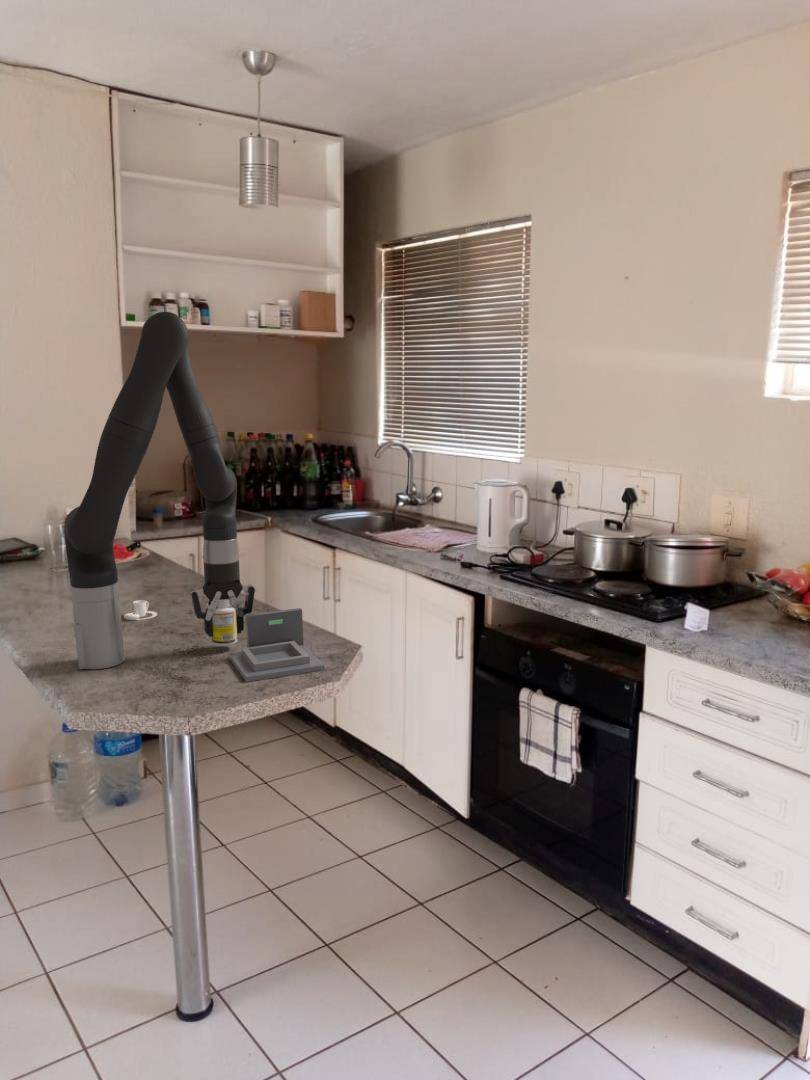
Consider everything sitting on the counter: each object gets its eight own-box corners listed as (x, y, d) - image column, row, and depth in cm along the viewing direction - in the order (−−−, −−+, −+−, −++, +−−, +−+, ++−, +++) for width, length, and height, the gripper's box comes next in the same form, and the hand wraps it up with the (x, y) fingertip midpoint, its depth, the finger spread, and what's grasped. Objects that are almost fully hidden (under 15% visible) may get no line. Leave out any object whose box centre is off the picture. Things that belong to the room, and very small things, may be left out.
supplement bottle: (222, 638, 188) (220, 593, 186) (242, 641, 186) (241, 596, 184) (206, 645, 183) (204, 599, 181) (227, 648, 181) (225, 602, 179)
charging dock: (246, 682, 164) (243, 637, 163) (229, 658, 179) (226, 617, 177) (324, 669, 170) (322, 626, 169) (301, 647, 185) (300, 607, 183)
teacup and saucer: (128, 624, 207) (127, 608, 206) (116, 617, 213) (115, 602, 212) (162, 617, 212) (161, 601, 211) (149, 611, 218) (148, 596, 217)
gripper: (189, 565, 175) (194, 643, 178) (258, 559, 181) (261, 635, 184) (184, 558, 182) (188, 633, 185) (250, 553, 187) (253, 626, 190)
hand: (224, 633), depth 184 cm, fingers closed on supplement bottle, 5 cm apart
